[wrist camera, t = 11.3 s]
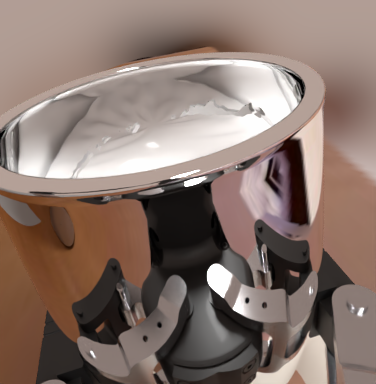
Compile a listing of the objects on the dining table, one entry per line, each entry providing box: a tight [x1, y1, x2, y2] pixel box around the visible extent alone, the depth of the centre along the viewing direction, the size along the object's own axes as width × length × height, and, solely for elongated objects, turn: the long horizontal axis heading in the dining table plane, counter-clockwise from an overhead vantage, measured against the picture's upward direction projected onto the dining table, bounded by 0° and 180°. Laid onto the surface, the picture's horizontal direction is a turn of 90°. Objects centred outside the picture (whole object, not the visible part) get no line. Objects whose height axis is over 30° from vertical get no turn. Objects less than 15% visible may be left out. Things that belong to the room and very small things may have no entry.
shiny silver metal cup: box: [0, 52, 326, 384], centre depth 11 cm, size 7×7×15 cm
